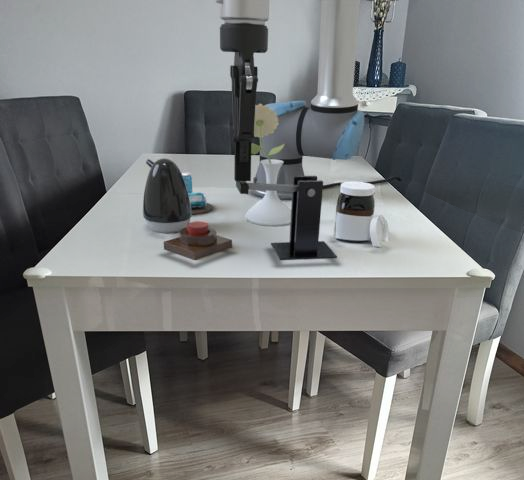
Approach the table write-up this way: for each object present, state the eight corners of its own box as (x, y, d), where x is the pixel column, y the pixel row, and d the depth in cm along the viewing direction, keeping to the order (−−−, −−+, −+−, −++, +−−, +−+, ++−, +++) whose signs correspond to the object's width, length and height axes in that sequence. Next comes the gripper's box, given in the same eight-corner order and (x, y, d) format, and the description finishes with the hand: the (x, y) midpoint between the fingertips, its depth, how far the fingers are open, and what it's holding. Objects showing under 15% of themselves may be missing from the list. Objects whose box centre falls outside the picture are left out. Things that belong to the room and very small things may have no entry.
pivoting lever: (240, 196, 91) (240, 182, 90) (235, 188, 96) (236, 175, 95) (318, 199, 94) (319, 186, 92) (309, 191, 99) (311, 178, 97)
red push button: (198, 229, 102) (197, 220, 101) (212, 233, 100) (212, 224, 99) (182, 233, 99) (182, 224, 98) (197, 238, 97) (197, 228, 96)
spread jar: (332, 233, 115) (338, 178, 109) (384, 236, 114) (392, 181, 109) (333, 251, 105) (339, 192, 99) (390, 254, 104) (399, 195, 98)
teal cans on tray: (205, 201, 136) (204, 169, 132) (218, 213, 127) (217, 179, 123) (159, 203, 132) (157, 171, 128) (168, 216, 123) (166, 182, 119)
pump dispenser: (169, 222, 119) (165, 152, 111) (202, 232, 113) (200, 158, 106) (134, 232, 112) (126, 158, 104) (166, 243, 106) (161, 165, 99)
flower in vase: (300, 220, 123) (307, 103, 111) (287, 234, 114) (293, 108, 101) (247, 214, 127) (249, 100, 114) (231, 227, 117) (230, 104, 105)
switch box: (201, 243, 107) (201, 221, 105) (232, 253, 103) (232, 230, 100) (164, 255, 100) (162, 232, 98) (195, 266, 96) (194, 242, 94)
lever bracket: (279, 266, 97) (283, 184, 90) (270, 249, 105) (273, 173, 97) (336, 264, 99) (344, 184, 91) (323, 248, 106) (330, 173, 99)
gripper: (215, 23, 86) (217, 172, 97) (224, 20, 74) (225, 189, 86) (260, 25, 87) (257, 172, 99) (276, 22, 76) (270, 188, 87)
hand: (242, 180), depth 92 cm, fingers closed
